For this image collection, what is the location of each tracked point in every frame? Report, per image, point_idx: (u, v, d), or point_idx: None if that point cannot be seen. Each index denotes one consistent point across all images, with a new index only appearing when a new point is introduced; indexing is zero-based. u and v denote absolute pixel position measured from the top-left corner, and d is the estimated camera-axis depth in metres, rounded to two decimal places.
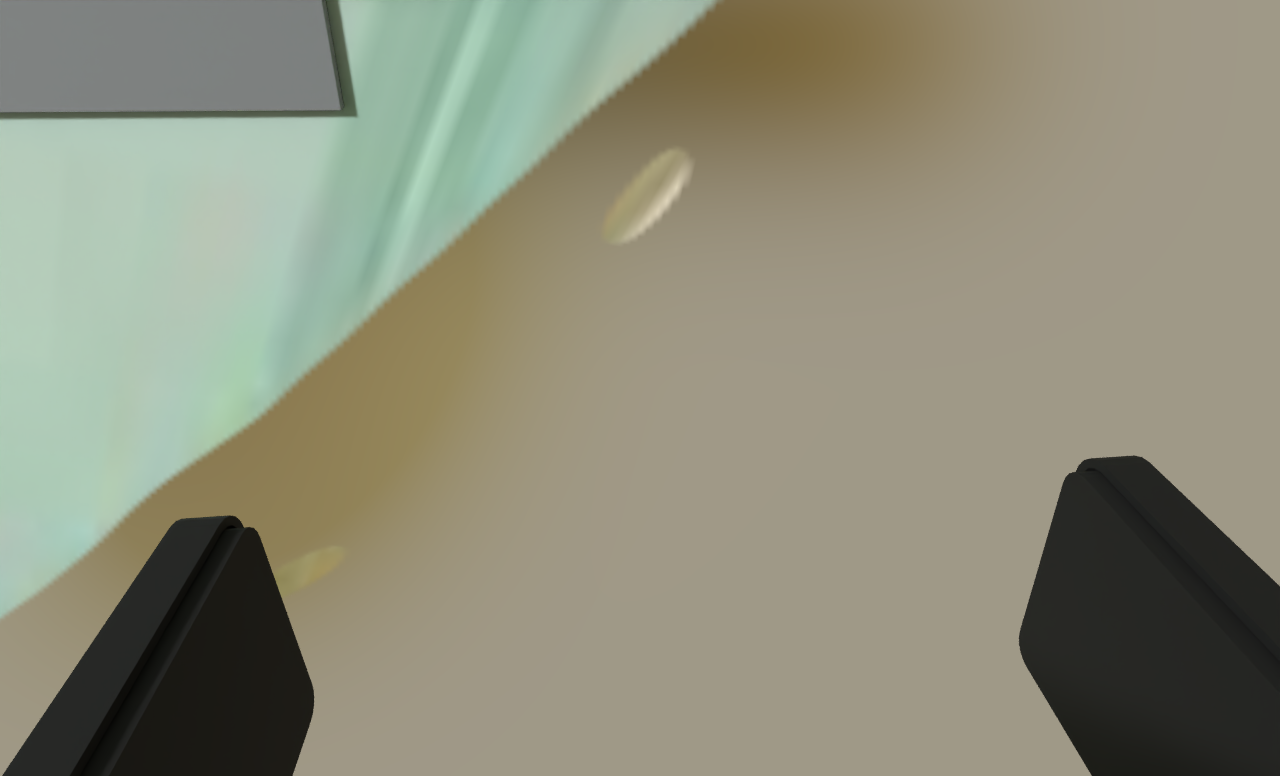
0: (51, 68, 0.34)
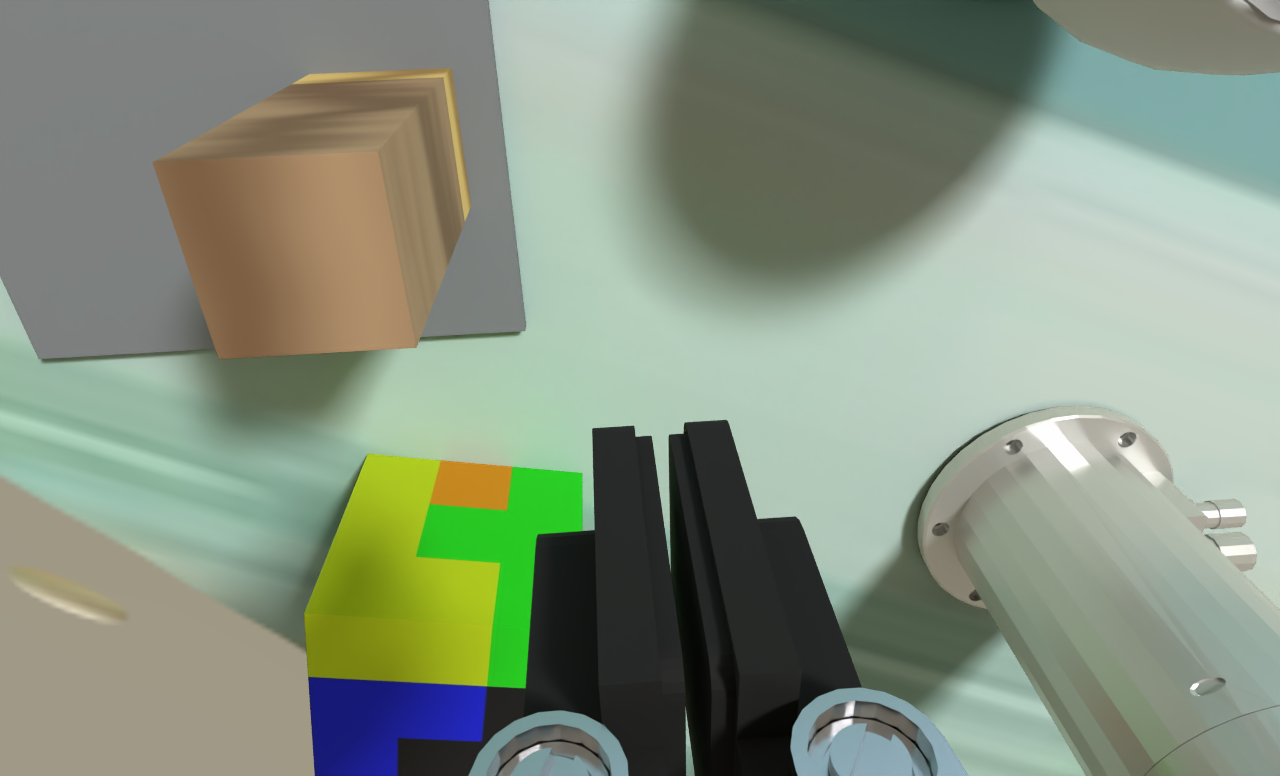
0: None
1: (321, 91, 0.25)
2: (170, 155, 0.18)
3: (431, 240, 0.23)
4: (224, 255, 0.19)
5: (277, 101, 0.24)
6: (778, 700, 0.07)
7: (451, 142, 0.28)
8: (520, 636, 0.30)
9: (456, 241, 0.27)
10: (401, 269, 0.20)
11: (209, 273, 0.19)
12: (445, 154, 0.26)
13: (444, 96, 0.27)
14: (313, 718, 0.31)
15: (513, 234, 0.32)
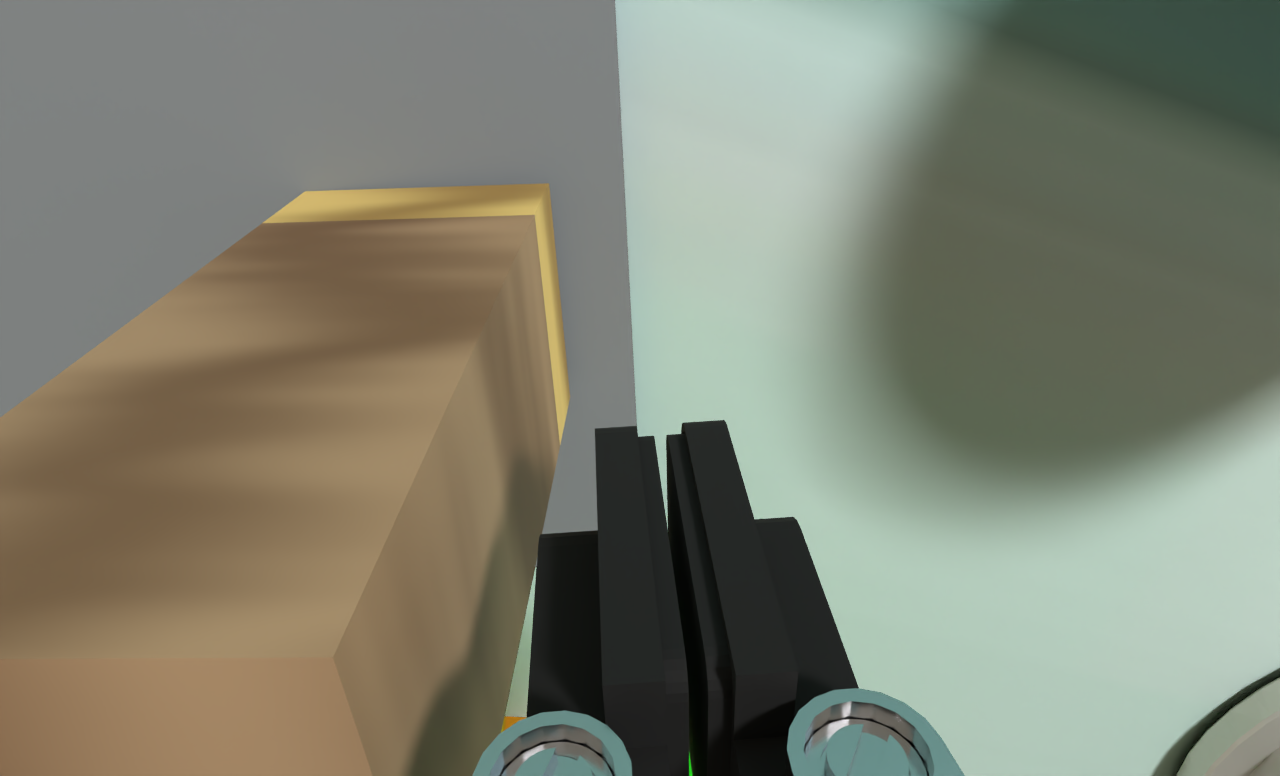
0: None
1: (303, 253, 0.13)
2: None
3: (498, 608, 0.11)
4: None
5: (206, 290, 0.12)
6: (775, 700, 0.07)
7: (544, 326, 0.15)
8: None
9: (546, 511, 0.15)
10: None
11: None
12: (533, 365, 0.14)
13: (535, 251, 0.14)
14: None
15: None
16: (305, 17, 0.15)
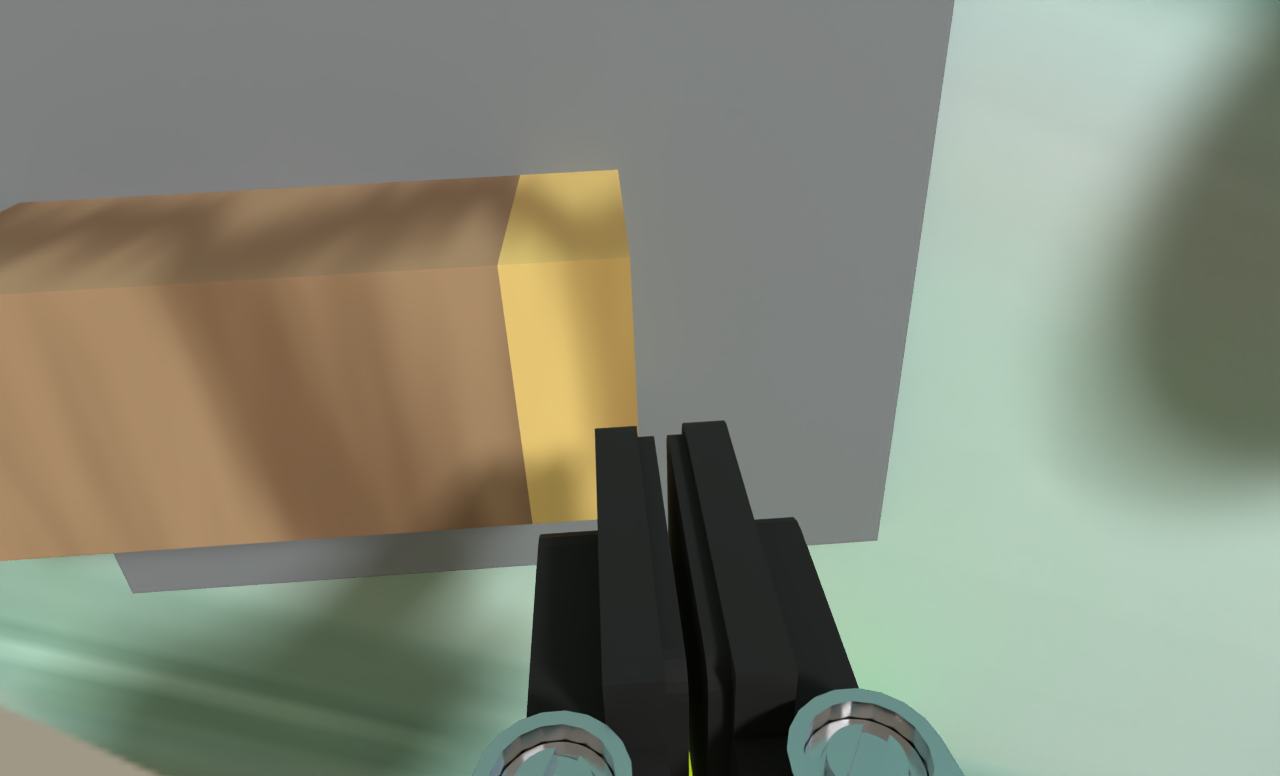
0: (11, 146, 0.15)
1: (427, 201, 0.15)
2: (44, 203, 0.16)
3: (165, 481, 0.14)
4: None
5: (360, 191, 0.16)
6: (775, 700, 0.07)
7: (492, 385, 0.13)
8: None
9: (407, 529, 0.14)
10: None
11: None
12: (405, 393, 0.13)
13: (476, 300, 0.12)
14: None
15: (893, 407, 0.20)
16: None
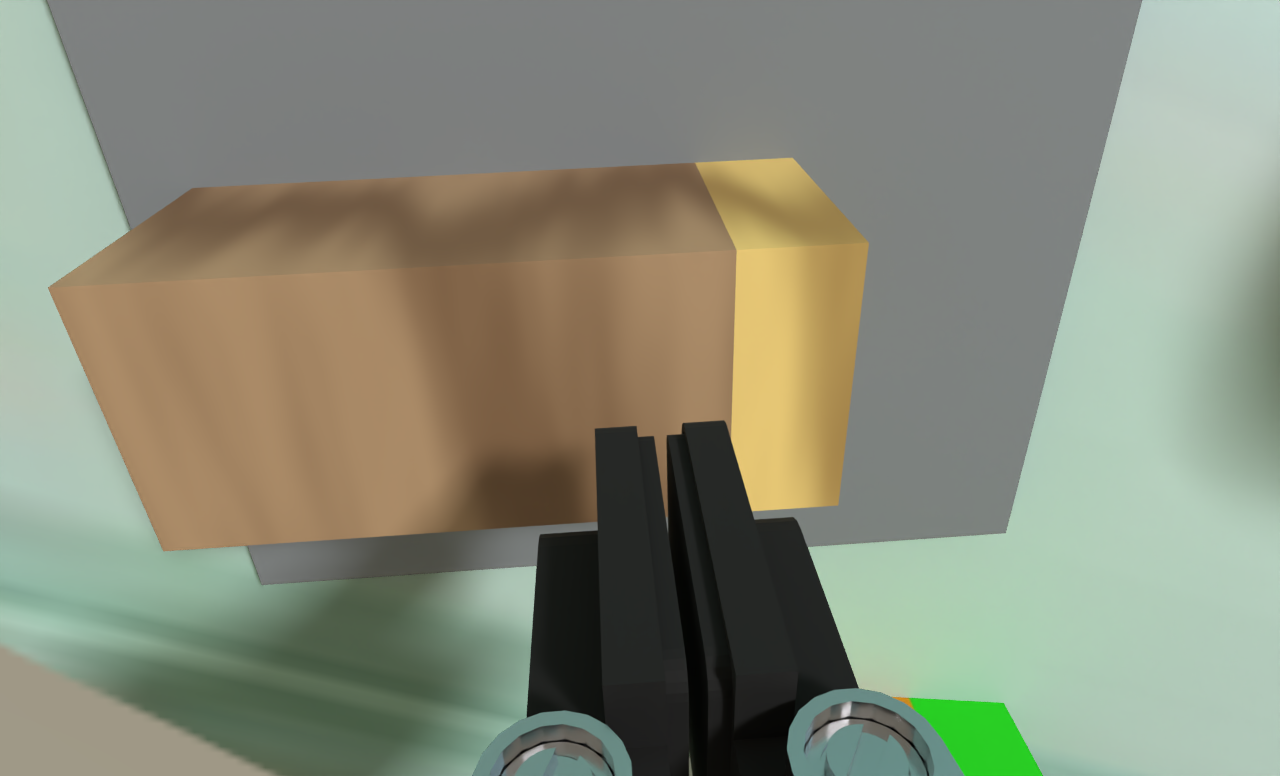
0: (190, 130, 0.15)
1: (616, 187, 0.15)
2: (218, 188, 0.16)
3: (372, 468, 0.13)
4: None
5: (540, 177, 0.16)
6: (774, 700, 0.07)
7: (712, 372, 0.13)
8: None
9: None
10: (124, 451, 0.13)
11: None
12: (624, 380, 0.13)
13: (710, 285, 0.12)
14: None
15: (1036, 399, 0.20)
16: None
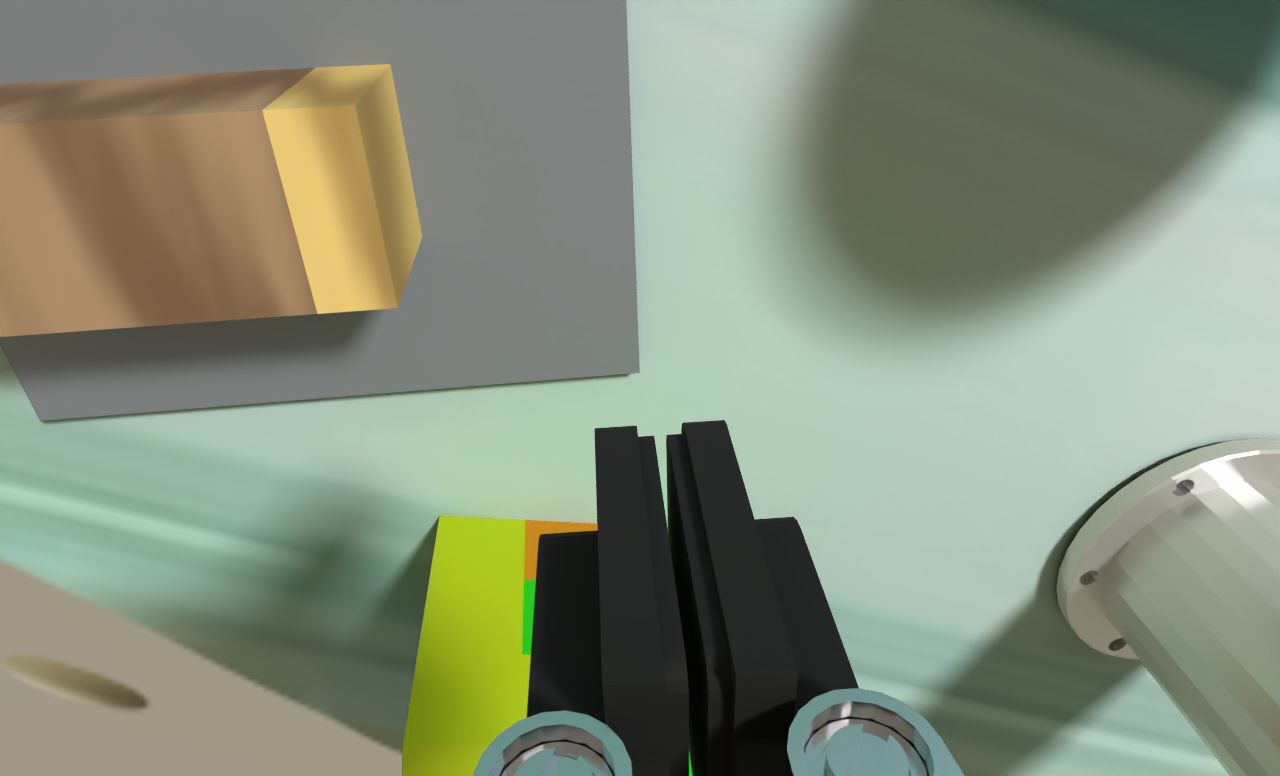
0: None
1: (236, 81, 0.21)
2: None
3: (41, 277, 0.19)
4: None
5: (190, 77, 0.21)
6: (774, 700, 0.07)
7: (271, 202, 0.19)
8: None
9: (224, 318, 0.20)
10: None
11: None
12: (209, 208, 0.19)
13: (251, 136, 0.18)
14: None
15: (634, 259, 0.26)
16: None
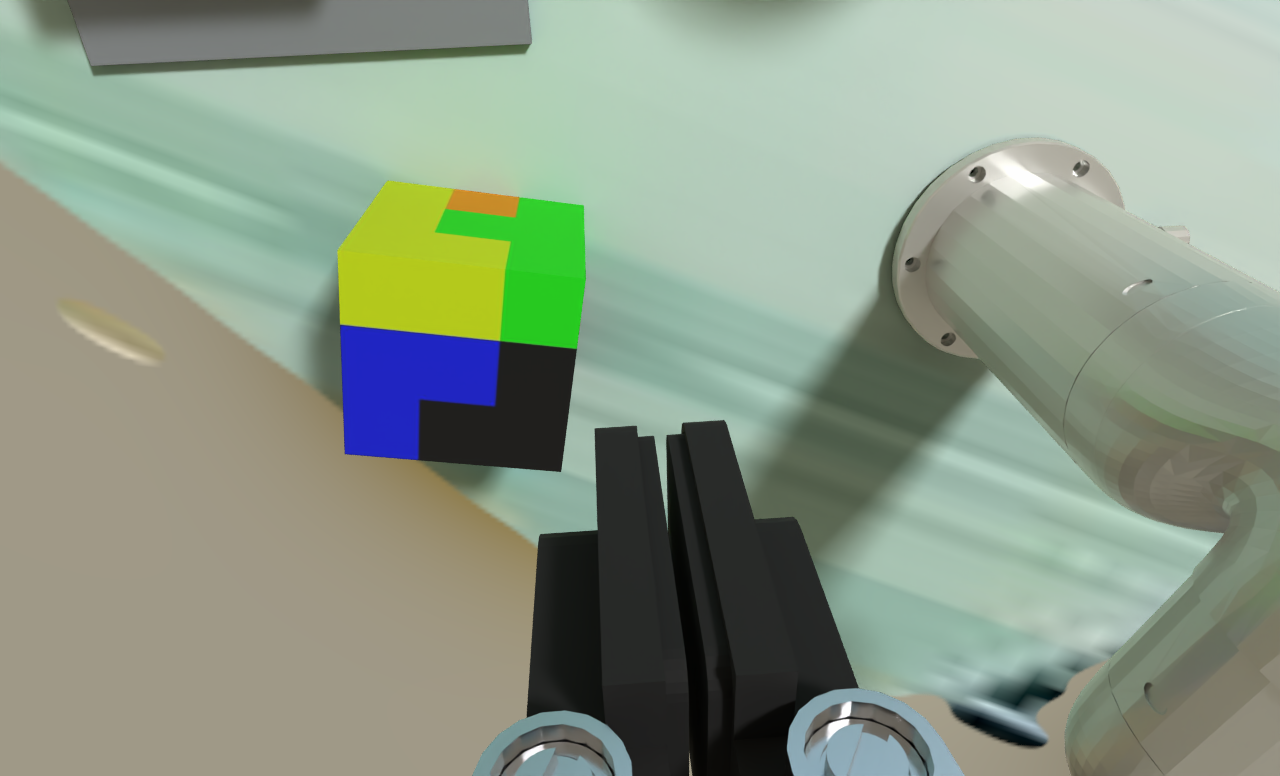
0: None
1: None
2: None
3: None
4: None
5: None
6: (775, 700, 0.07)
7: None
8: (530, 283, 0.33)
9: None
10: None
11: None
12: None
13: None
14: (344, 373, 0.35)
15: None
16: None
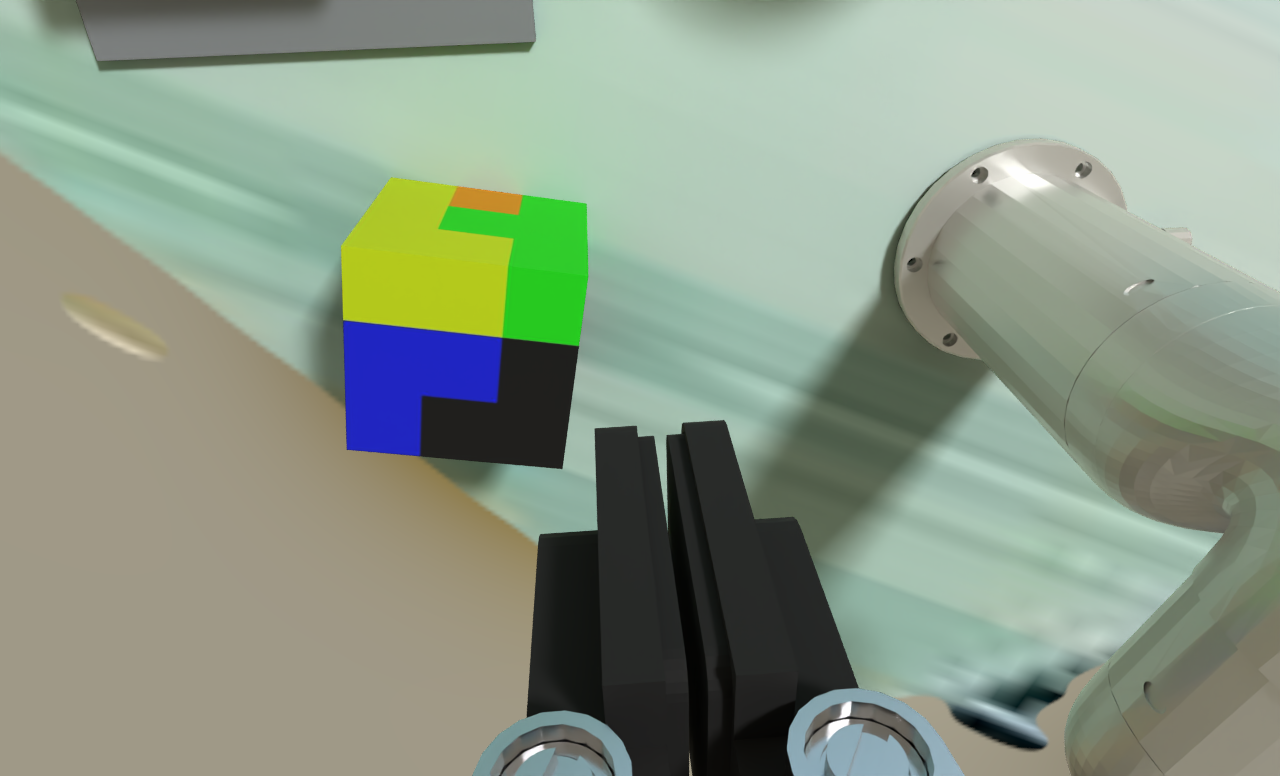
0: None
1: None
2: None
3: None
4: None
5: None
6: (774, 701, 0.07)
7: None
8: (533, 280, 0.34)
9: None
10: None
11: None
12: None
13: None
14: (346, 369, 0.35)
15: None
16: None
